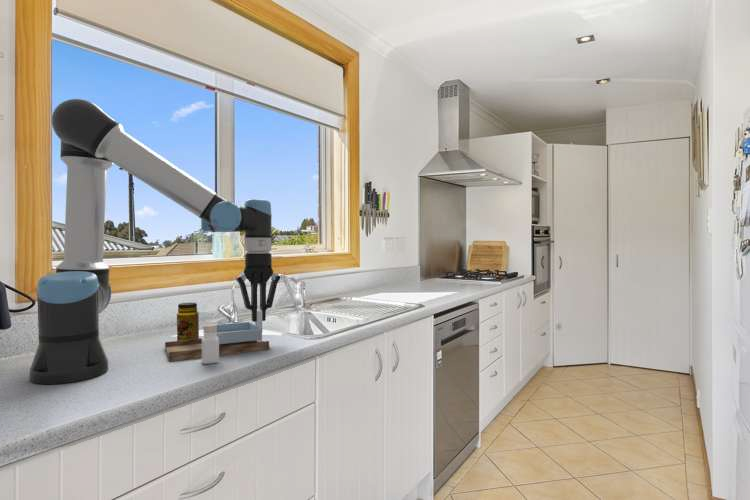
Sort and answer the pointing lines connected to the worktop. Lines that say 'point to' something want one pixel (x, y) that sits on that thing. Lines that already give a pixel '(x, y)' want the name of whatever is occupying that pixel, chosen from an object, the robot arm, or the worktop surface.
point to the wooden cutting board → (194, 348)
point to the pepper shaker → (210, 344)
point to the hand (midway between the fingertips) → (258, 332)
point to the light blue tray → (238, 332)
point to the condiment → (187, 322)
